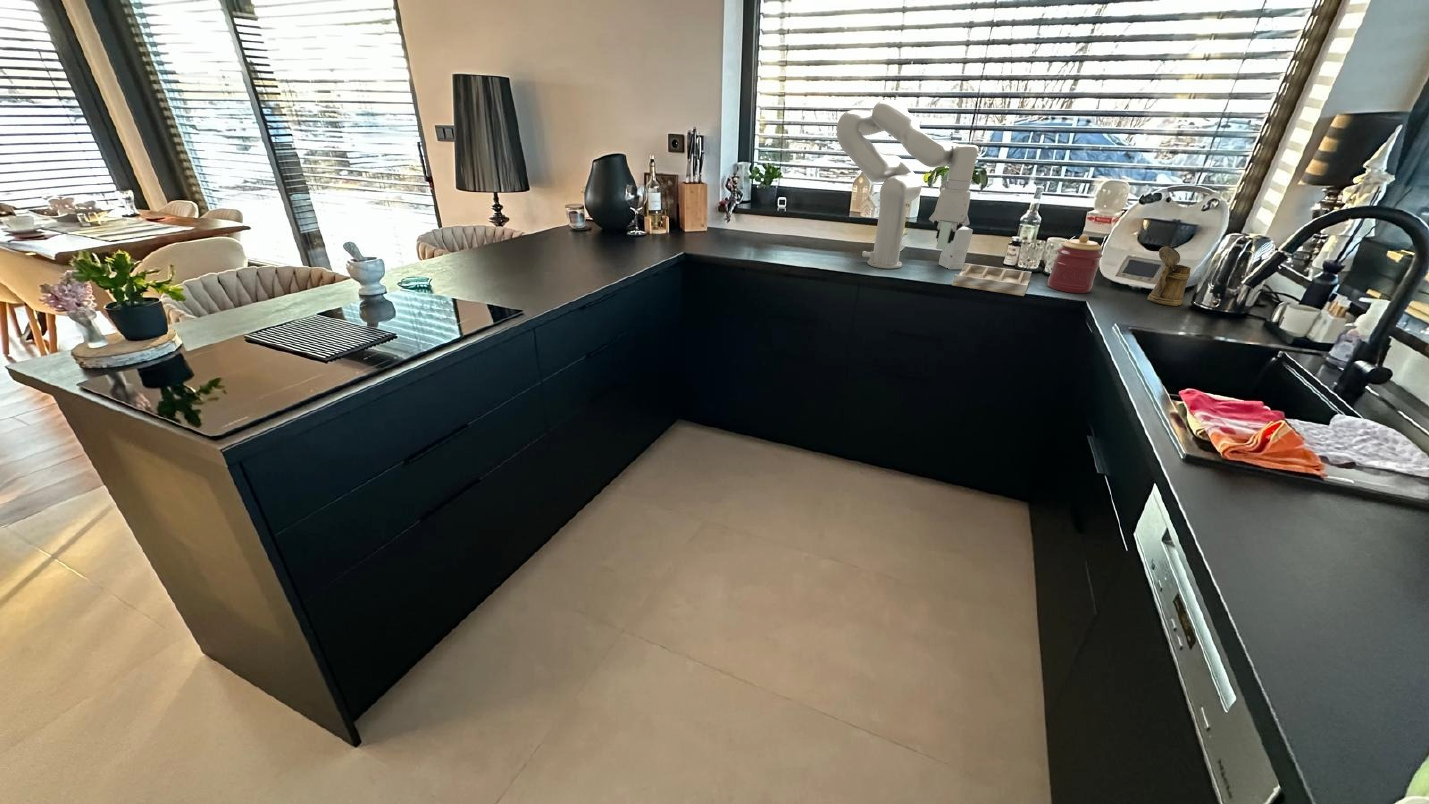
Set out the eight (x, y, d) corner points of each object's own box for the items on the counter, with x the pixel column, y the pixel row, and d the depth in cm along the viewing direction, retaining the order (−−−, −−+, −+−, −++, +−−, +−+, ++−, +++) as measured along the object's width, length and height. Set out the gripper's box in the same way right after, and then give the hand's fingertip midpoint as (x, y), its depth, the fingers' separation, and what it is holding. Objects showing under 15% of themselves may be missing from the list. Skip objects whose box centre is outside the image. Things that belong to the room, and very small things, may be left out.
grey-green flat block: (935, 248, 191) (942, 221, 187) (940, 244, 197) (946, 218, 193) (944, 250, 190) (951, 223, 185) (949, 245, 196) (955, 219, 191)
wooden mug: (1130, 300, 175) (1152, 242, 167) (1159, 296, 180) (1182, 239, 171) (1158, 308, 168) (1183, 248, 160) (1188, 304, 172) (1213, 245, 164)
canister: (1049, 281, 195) (1064, 229, 186) (1092, 287, 188) (1110, 234, 180) (1043, 289, 185) (1059, 234, 177) (1088, 296, 179) (1107, 240, 170)
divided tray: (951, 285, 187) (953, 274, 186) (961, 272, 203) (964, 263, 201) (1023, 295, 177) (1026, 285, 176) (1028, 282, 193) (1031, 272, 191)
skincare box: (938, 264, 213) (946, 224, 207) (952, 264, 214) (961, 224, 207) (949, 269, 206) (958, 228, 199) (964, 269, 207) (973, 228, 200)
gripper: (929, 183, 184) (917, 240, 193) (982, 189, 177) (967, 247, 186) (934, 181, 190) (922, 236, 199) (985, 187, 183) (970, 243, 192)
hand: (944, 241), depth 192 cm, fingers closed on grey-green flat block, 3 cm apart
